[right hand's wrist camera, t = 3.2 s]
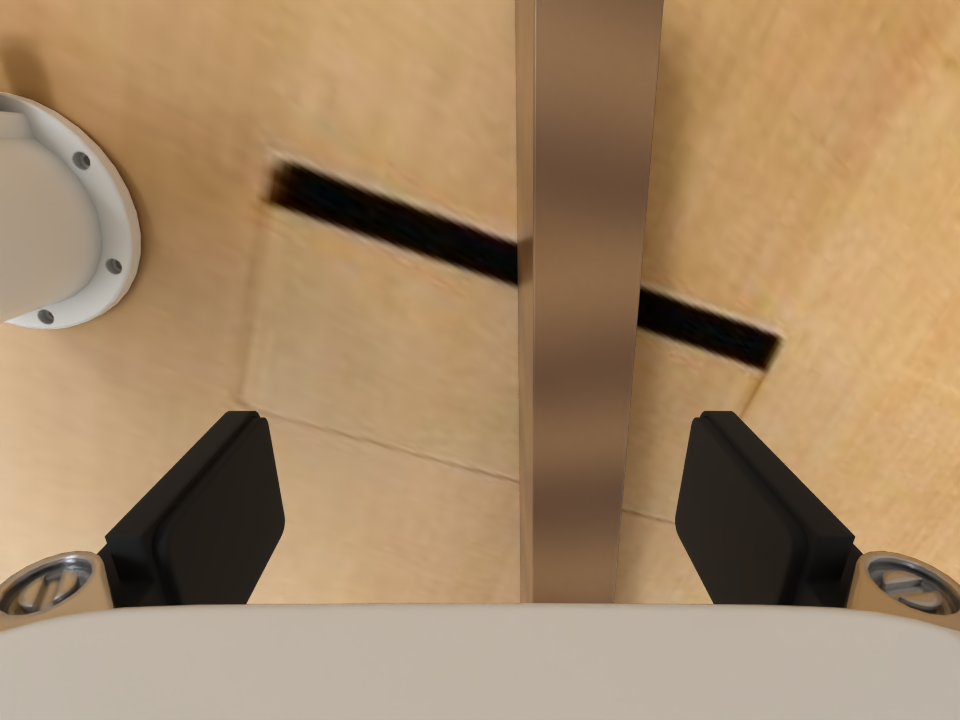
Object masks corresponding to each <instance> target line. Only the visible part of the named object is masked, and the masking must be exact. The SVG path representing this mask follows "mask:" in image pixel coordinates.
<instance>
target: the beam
mask: <svg viewBox="0 0 960 720" xmlns="http://www.w3.org/2000/svg"><path fill="white" fill-rule="evenodd" d="M663 2H664V0H515V22H516V132H517V243H518V354H519V464H520V575H521V603H596V604H614V597H615V585H616V573H617V561H618V548H619V536H620V524H621V512H622V500H623V488H624V476H625V463H626V451H627V439H628V427H629V415H630V403H631V391H632V379H633V366H634V354H635V342H636V330H637V318H638V306H639V294H640V282H641V269H642V257H643V245H644V233H645V221H646V209H647V197H648V184H649V172H650V160H651V148H652V136H653V124H654V112H655V100H656V87H657V75H658V63H659V51H660V39H661V27H662V15H663Z"/></svg>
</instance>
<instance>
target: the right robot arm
mask: <svg viewBox="0 0 960 720" xmlns="http://www.w3.org/2000/svg"><path fill="white" fill-rule="evenodd" d="M89 160H90V161H89ZM140 256H141V233H140V227H139V222H138V217H137V212H136V209H135V207H134V204H133V201H132V199H131V196H130V193H129V191H128V189H127V187H126V185H125V183H124V182H123V180H122V178H121V176H120V175H119V173H118V171H117V169H116V168H115V166H114V165H113V164H112V163H111V161H110V160H109V159H108V157H107V156H106V155H105V154H104V152H103V151H102V150H101V148H100V147H99V146H98V145H97V144H96V143H95V142H94V141H93V140H91V139H90V138H89V137H88V136H87V135H86V134H85V133H84V132H83V131H82V130H81V129H80V128H79V127H77V126H76V125H74V124H73V123H72V122H70V121H69V120H67V119H66V118H65V117H63V116H62V115H60V114H59V113H57V112H56V111H54V110H52V109H50V108H48V107H46V106H44V105H42V104H40V103H38V102H36V101H34V100H31V99H28V98H24V97H21V96H18V95H15V94H11V93H8V92H1V91H0V323H2V322H5V323H9V324H13V325H17V326H21V327H25V328H34V329H45V330H48V329H60V328H68V327H72V326H75V325H79V324H82V323H85V322H87V321H90V320H92V319H94V318H96V317H98V316H100V315H103V314H104V313H105V312H107V311H108V310H110V309H111V308H112V307H114V306H115V305H116V304H118V302H119V301H120V300H121V299H122V298H123V296H124V295H125V294H126V293H127V292H128V290H129V288H130V286H131V284H132V282H133V280H134V278H135V276H136V274H137V269H138V265H139V261H140ZM284 525H285V516H284V510H283V505H282V499H281V493H280V488H279V482H278V476H277V470H276V465H275V459H274V453H273V448H272V442H271V436H270V430H269V425H268V421H267V419H266V418H260V416H259V414H258V413H257V412H256V411H228V412H226V413H225V414H224V415H223V416H222V417H221V418H220V419H219V420H218V421H217V422H216V423H215V424H214V425H213V426H212V427H211V428H210V429H209V430H208V432H207V433H206V434H205V435H204V436H203V437H202V438H201V439H200V440H199V441H198V442H197V443H196V444H195V445H194V446H193V447H192V448H191V449H190V450H189V451H188V452H187V453H186V454H185V455H184V456H183V457H182V458H181V459H180V460H179V461H178V462H177V463H176V464H175V465H174V466H173V467H172V468H171V469H170V470H169V471H168V472H167V473H166V474H165V475H164V476H163V478H162V479H161V480H160V481H159V482H158V483H157V484H156V485H155V486H154V487H153V488H152V489H151V490H150V491H149V492H148V493H147V494H146V495H145V496H144V497H143V498H142V499H141V500H140V501H139V502H138V503H137V504H136V505H135V506H134V507H133V508H132V509H131V510H130V511H129V512H128V513H127V514H126V515H125V516H124V517H123V518H122V519H121V520H120V521H119V523H118V524H117V525H116V526H115V527H114V528H113V529H112V530H111V531H110V532H109V533H108V534H107V535H106V536H105V539H106V541H107V544H106V545H105V546H104V547H103V548H102V549H101V550H100V551H99V553H98V554H94V553H92V552H86V551H74V552H67V553H61V554H58V555H55V556H51V557H48V558H45V559H42V560H40V561H38V562H36V563H33V564H31V565H29V566H27V567H25V568H24V569H22V570H20V571H19V572H17V573H15V574H14V575H12V576H11V577H9V578H8V579H7V580H6V581H4V582H3V583H2V584H1V585H0V720H960V585H959V584H958V583H957V582H956V581H954V580H953V579H952V578H951V577H949V576H948V575H946V574H945V573H943V572H941V571H940V570H938V569H936V568H935V567H933V566H931V565H929V564H927V563H924V562H922V561H920V560H918V559H915V558H912V557H909V556H905V555H902V554H899V553H893V552H886V551H874V552H868V553H866V554H862V553H861V551H860V550H859V549H858V548H857V547H856V546H855V545H854V544H853V541H854V539H855V536H854V535H853V534H852V533H851V532H850V531H849V530H848V529H847V528H846V527H845V526H844V525H843V524H842V523H841V521H840V520H839V519H838V518H837V517H836V516H835V515H834V514H833V513H832V512H831V511H830V510H829V509H828V508H827V507H826V506H825V505H824V504H823V503H822V502H821V501H820V500H819V499H818V498H817V497H816V496H815V495H814V494H813V493H812V492H811V491H810V490H809V489H808V488H807V487H806V486H805V485H804V484H803V483H802V482H801V481H800V480H799V479H798V478H797V476H796V475H795V474H794V473H793V472H792V471H791V470H790V469H789V468H788V467H787V466H786V465H785V464H784V463H783V462H782V461H781V460H780V459H779V458H778V457H777V456H776V455H775V454H774V453H773V452H772V451H771V450H770V449H769V448H768V447H767V446H766V445H765V444H764V443H763V442H762V441H761V440H760V439H759V438H758V437H757V436H756V435H755V434H754V433H753V432H752V430H751V429H750V428H749V427H748V426H747V425H746V424H745V423H744V422H743V421H742V420H741V419H740V418H739V417H738V416H737V415H736V414H735V413H734V412H732V411H704V412H703V413H702V414H701V416H700V418H694V419H693V421H692V425H691V430H690V436H689V442H688V448H687V453H686V459H685V465H684V470H683V476H682V482H681V488H680V493H679V499H678V505H677V510H676V516H675V525H676V530H677V533H678V536H679V538H680V540H681V542H682V544H683V545H684V547H685V549H686V551H687V553H688V555H689V557H690V559H691V561H692V563H693V565H694V567H695V569H696V571H697V572H698V574H699V576H700V578H701V580H702V582H703V584H704V586H705V588H706V590H707V592H708V594H709V596H710V598H711V599H712V601H713V603H714V604H596V603H360V604H246V603H247V601H248V599H249V598H250V596H251V594H252V592H253V590H254V588H255V586H256V584H257V582H258V580H259V578H260V576H261V574H262V572H263V571H264V569H265V567H266V565H267V563H268V561H269V559H270V557H271V555H272V553H273V551H274V549H275V547H276V545H277V544H278V542H279V540H280V538H281V536H282V533H283V530H284Z"/></svg>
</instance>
